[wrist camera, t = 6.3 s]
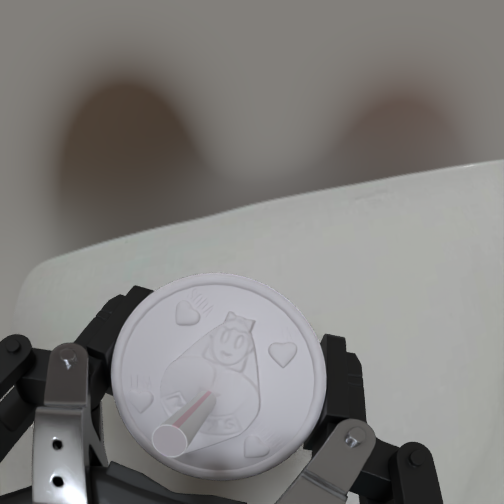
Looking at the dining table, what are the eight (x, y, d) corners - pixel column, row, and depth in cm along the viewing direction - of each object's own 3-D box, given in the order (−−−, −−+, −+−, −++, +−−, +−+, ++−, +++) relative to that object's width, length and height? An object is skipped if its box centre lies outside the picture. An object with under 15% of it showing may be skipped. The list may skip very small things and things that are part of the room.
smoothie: (161, 391, 17) (-9, 454, 4) (202, 293, 19) (100, 161, 5) (264, 433, 16) (296, 597, 3) (305, 332, 18) (438, 285, 5)
